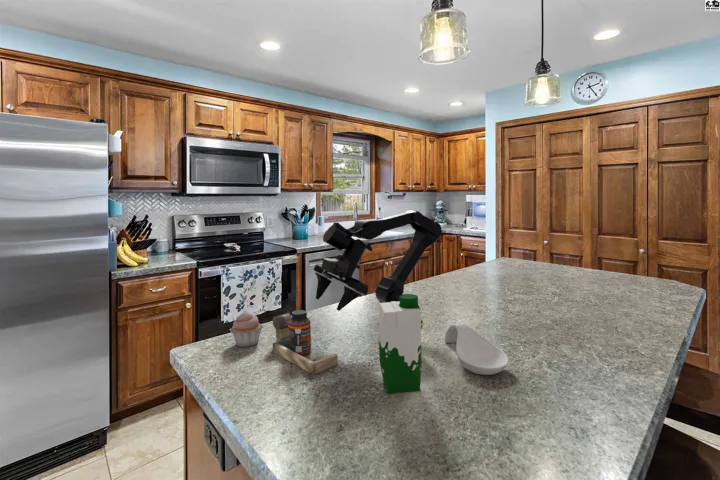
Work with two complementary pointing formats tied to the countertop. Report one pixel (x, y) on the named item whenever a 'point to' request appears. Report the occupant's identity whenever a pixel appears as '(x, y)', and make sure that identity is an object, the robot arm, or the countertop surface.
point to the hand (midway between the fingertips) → (327, 304)
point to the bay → (303, 358)
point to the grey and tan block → (282, 326)
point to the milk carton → (400, 344)
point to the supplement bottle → (300, 333)
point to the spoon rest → (476, 351)
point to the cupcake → (246, 329)
